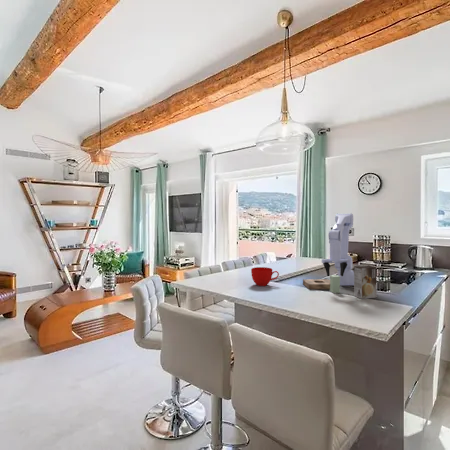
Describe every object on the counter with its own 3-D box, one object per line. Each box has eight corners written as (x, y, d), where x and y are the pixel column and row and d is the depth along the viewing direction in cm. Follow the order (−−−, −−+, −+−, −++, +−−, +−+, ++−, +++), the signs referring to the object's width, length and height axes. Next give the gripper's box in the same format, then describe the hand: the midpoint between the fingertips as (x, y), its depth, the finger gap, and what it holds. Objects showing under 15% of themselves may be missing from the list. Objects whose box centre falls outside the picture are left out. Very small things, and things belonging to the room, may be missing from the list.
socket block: (328, 284, 195) (328, 279, 195) (336, 289, 181) (336, 284, 181) (302, 284, 195) (302, 279, 195) (308, 289, 181) (308, 284, 181)
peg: (337, 291, 177) (337, 275, 177) (339, 292, 173) (339, 276, 173) (330, 291, 177) (330, 275, 177) (332, 292, 173) (332, 276, 173)
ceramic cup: (278, 288, 185) (278, 271, 185) (250, 286, 188) (250, 270, 188) (279, 283, 198) (279, 267, 197) (252, 282, 201) (252, 266, 201)
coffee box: (368, 294, 168) (368, 265, 168) (376, 297, 162) (377, 267, 162) (353, 296, 166) (353, 266, 165) (361, 299, 160) (362, 267, 159)
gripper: (324, 252, 170) (324, 277, 171) (351, 252, 170) (350, 277, 171) (320, 251, 177) (320, 274, 178) (346, 251, 177) (345, 274, 178)
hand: (335, 275), depth 175 cm, fingers open, 7 cm apart
